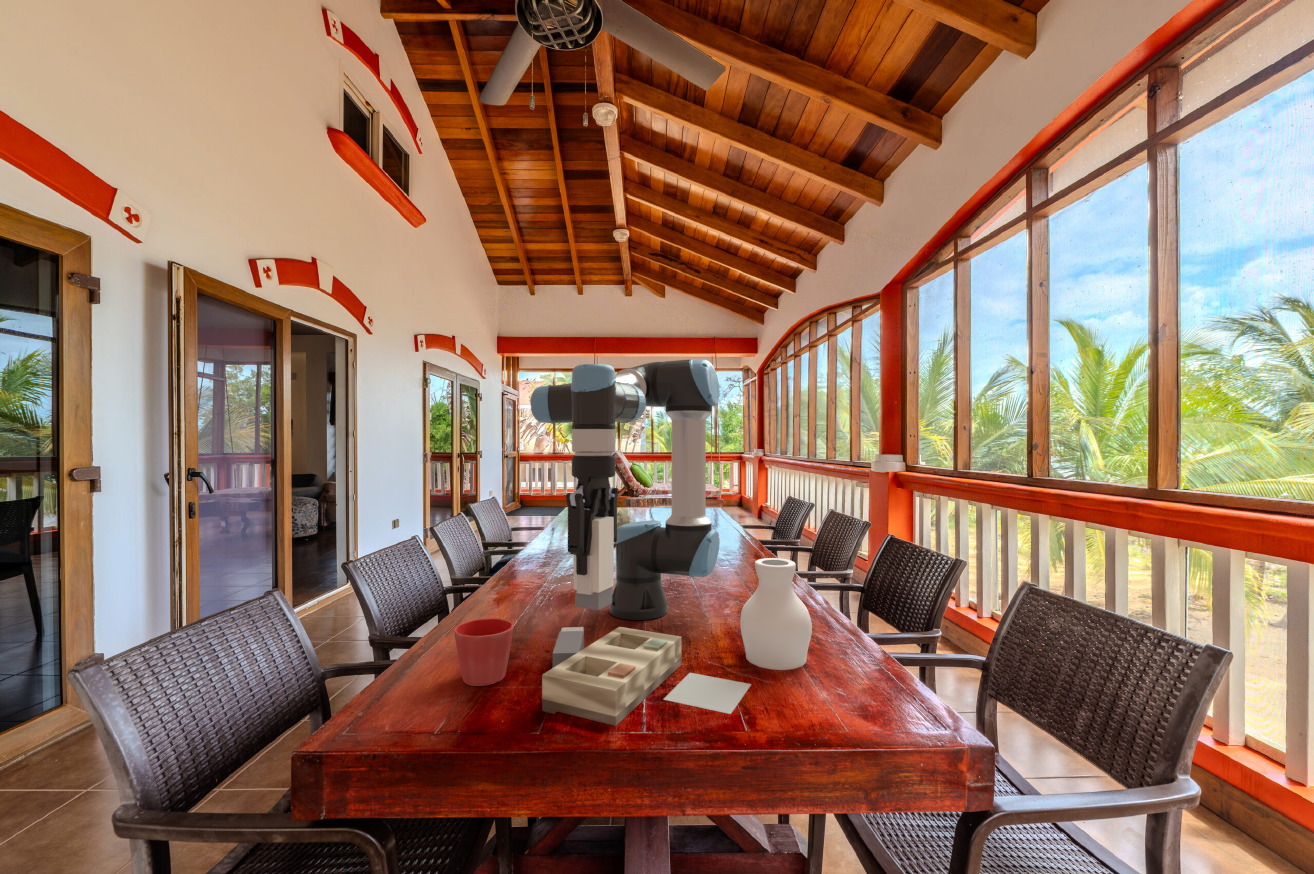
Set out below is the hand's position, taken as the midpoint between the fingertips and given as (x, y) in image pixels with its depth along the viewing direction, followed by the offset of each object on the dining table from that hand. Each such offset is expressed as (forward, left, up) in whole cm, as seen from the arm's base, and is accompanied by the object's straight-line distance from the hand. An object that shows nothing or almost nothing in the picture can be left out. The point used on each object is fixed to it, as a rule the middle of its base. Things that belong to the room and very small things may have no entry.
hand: (593, 588), depth 97 cm
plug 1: (-12, -13, -19) cm, 26 cm away
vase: (-30, +24, -19) cm, 43 cm away
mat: (-10, +17, -19) cm, 28 cm away
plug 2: (0, 0, -3) cm, 3 cm away
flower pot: (+1, -24, -19) cm, 31 cm away
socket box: (-6, +1, -19) cm, 20 cm away
